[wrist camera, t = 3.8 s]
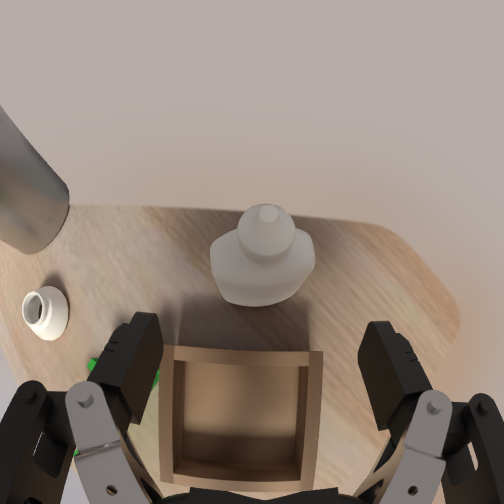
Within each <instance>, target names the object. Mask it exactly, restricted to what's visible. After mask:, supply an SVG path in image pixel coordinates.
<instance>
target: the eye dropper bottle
mask: <svg viewBox="0 0 504 504" xmlns="http://www.w3.org/2000/svg"><path fill="white" fill-rule="evenodd" d="M294 224H295V223H294V222H293V220H292V218H291V216H290V215H289V214H288V213H287V212H286V211H285V210H283V209H282V208H280V207H278V206H275V205H272V204H259V205H256V206H254V207H251V208H249V210H247V211H246V212H244V214H243V216H241V218H240V221H239V224H238V227H237V229H234V230H232V231H230V232H228V233H226V234H224V235H222V236H220V237H219V238H217V239H216V240H215V241H214V242H213V243H212V245H211V248H210V261H211V271H212V275H213V277H214V280H215V282H216V285H217V287H218V289H219V291H220V292H221V294H222V296H223V298H224V299H225V300H226V301H227V302H230V303H233V304H236V305H240V306H247V307H262V306H268V305H272V304H276V303H278V302H281V301H283V300H286V299H287V298H289V297H291V296H292V295H294V294H295V292H296V291H297V290H298V289H299V288H300V286H301V285H302V284H303V283H304V281H305V280H306V279H307V277H308V276H309V275H310V274H311V272H312V271H313V269H314V267H315V262H316V260H315V252H314V247H313V242H312V239H311V237H310V235H309V234H307V233H306V232H305V231H302V230H300V229H298V228H295V225H294Z"/></svg>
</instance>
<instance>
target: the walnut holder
mask: <svg viewBox="0 0 504 504" xmlns="http://www.w3.org/2000/svg"><path fill="white" fill-rule="evenodd" d="M163 345H164V351H163V357H162V360H161V363H160V373H159V459H160V478H161V481H162V482H167V483H172V484H178V485H184V486H190V487H197V488H205V489H214V490H226V491H242V492H286V491H302V490H313V484H314V476H315V467H316V458H317V449H318V438H319V426H320V412H321V395H322V373H323V351H259V350H235V349H219V348H205V347H194V346H183V345H170V344H163Z"/></svg>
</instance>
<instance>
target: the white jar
mask: <svg viewBox="0 0 504 504" xmlns="http://www.w3.org/2000/svg"><path fill="white" fill-rule="evenodd" d="M41 302H42V314H41V317H40V319H39V318H38V311H39V307H40V304H41ZM22 314H23V318H24V320H25V322H26V323H27V324H28V325H29V327H30V328H31V329H32V330H33V331H34V332H35V333H36V335H38V336H39V337H40V338H42V339H43V340H52V341H53V340H55V339H57V338H58V337H60V336H61V334H62V333H63V332H64V330H65V328H66V324H67V321H68V305H67V302H66V298H65V297H64V295H63V294H62V292H61V291H60V290H58V289H57V288H55V287H53V286H44V287H42V288H39V289H37V290H35V291H34V292H30V293H29V294H27V296H26V297H25V299H24V301H23V305H22Z"/></svg>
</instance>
